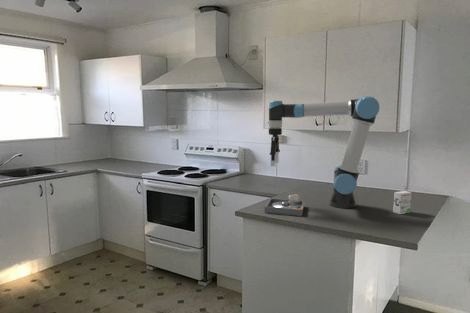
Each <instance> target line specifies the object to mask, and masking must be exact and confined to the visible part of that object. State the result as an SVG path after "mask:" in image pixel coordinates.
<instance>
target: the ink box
mask: <svg viewBox="0 0 470 313" xmlns="http://www.w3.org/2000/svg"><path fill="white" fill-rule="evenodd" d="M412 196H413V194H412V192H411V191H405V190H402V191H394V195H393V208H392V213H394V214H398V215H403V214H410V213H411V206H412Z"/></svg>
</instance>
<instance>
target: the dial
mask: <svg viewBox="0 0 470 313" xmlns="http://www.w3.org/2000/svg"><path fill="white" fill-rule="evenodd" d="M299 197H300V194H299V193H295V194H289V195H288V200H289V201H288V202H286V201H283V202H275V203H272V207H279V208H291V209H293V208H297V209H298V208H299V205H298V203H299V201H300V198H299Z"/></svg>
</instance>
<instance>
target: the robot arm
mask: <svg viewBox="0 0 470 313" xmlns="http://www.w3.org/2000/svg"><path fill="white" fill-rule="evenodd" d="M268 103H269V105H268V106H269V107H268V122H267V124H268V135H271V138H270V139H271V143H270V152H269V156H270V167H276V166H277V164H279V161H280V159H279V157H280V156H279V154H280V153H281V152H280V151H281V150H280V142H279V141H280V136H281V135H282V134H283V118H285V119H286V118H289V119H290V118H293V119H295V118H297V119H298V118H300V119H301V118H304V117H306V118H307V117H325V116H326V117H327V116H328V117H329V116H349V117H351V120H352V121H353V125H352V127H351V128H352V129H351V131H350V135H349V137H348V142H347V145H346V149H345V152H344V155H343V159H342V163H341V164H340V165H338V166H336V167H334V170H333V171H334V176H333V189H332V194H331V197H330V198H329V205H330V206H332V207H334V208H339V209H353V208H356V207H357V203H356V202H357V201H356V197H355V193H354V192H355V190H356V189H357V182H358V179H359V175H360V170H359V169H358V168H359V165H360V163H361V162H360V161H361V158H362V155H363V151H364V148H365V145H366V141H367V137H368V134H369V131H370V127H371V126H373V125H375V121H376V118H377V115H378V114H379V111H380V109H381V108H380V107H381V106H380V103H379V101H378V99H377V98H376V97H374V96H369V95H364V96H362V97H360V98H355V99H349V100H348V101H334V102H317V103H315V102H313V103H289V104H288V103H286V104H285V103H283V101H282V100H271V101H269V102H268Z"/></svg>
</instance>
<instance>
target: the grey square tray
mask: <svg viewBox="0 0 470 313" xmlns="http://www.w3.org/2000/svg"><path fill="white" fill-rule="evenodd" d="M283 201H286V202H288V201H289V199H285V198H283V199H282V198H273V197H271V198H270V197H269V199H268V201H267V202H266V205H265V206H264V213H265V214H272V215H284V216H295V217H297V216H298V217H302V216H303V212H304V209H305V200H299V203H298V205H299V208H298V209H297V208H293V209H291V208H279V207H272V203H275V202H283Z"/></svg>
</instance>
